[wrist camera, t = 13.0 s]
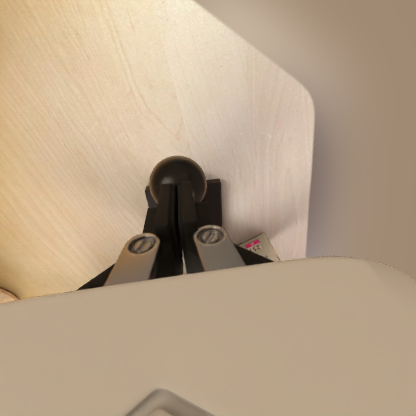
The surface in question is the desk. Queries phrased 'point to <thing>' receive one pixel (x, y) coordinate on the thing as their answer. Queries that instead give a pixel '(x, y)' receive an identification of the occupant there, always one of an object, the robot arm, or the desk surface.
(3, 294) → the mug
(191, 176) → the lever
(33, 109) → the desk surface
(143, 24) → the desk surface
